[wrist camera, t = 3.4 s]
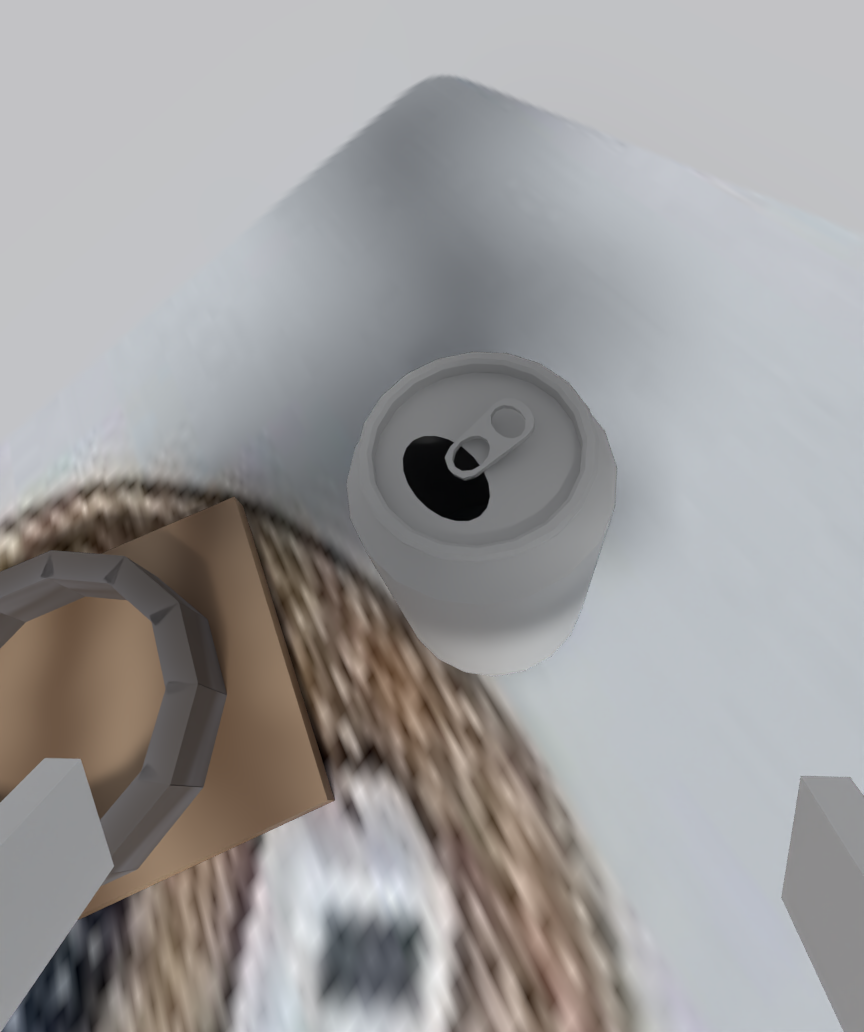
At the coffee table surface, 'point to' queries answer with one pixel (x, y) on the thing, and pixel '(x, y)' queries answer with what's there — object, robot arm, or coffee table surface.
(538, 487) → the can
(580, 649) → the coffee table surface
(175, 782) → the can holder
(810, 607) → the coffee table surface
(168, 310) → the coffee table surface
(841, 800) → the robot arm
